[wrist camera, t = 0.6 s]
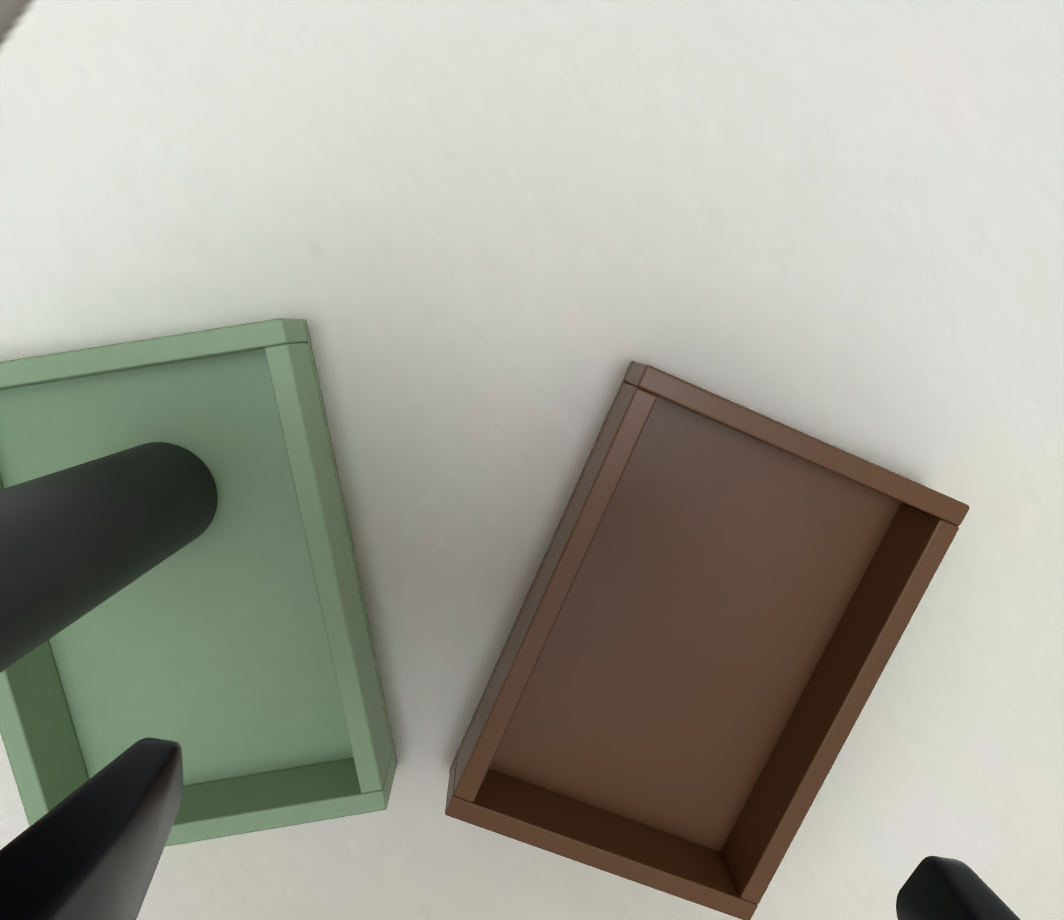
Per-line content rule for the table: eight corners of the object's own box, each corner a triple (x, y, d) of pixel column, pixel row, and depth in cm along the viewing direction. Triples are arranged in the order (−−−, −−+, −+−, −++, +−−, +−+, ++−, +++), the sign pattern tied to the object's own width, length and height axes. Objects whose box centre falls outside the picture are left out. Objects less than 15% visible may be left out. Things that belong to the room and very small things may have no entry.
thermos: (156, 570, 24) (-325, 907, 10) (81, 481, 23) (-545, 706, 9) (244, 507, 23) (-121, 762, 10) (171, 416, 23) (-332, 547, 9)
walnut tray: (726, 868, 27) (749, 922, 24) (449, 768, 26) (444, 815, 23) (924, 489, 25) (971, 506, 22) (631, 360, 23) (646, 364, 21)
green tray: (397, 764, 25) (386, 810, 23) (85, 815, 25) (41, 868, 23) (306, 319, 23) (282, 318, 20) (-46, 374, 23) (-112, 379, 20)
